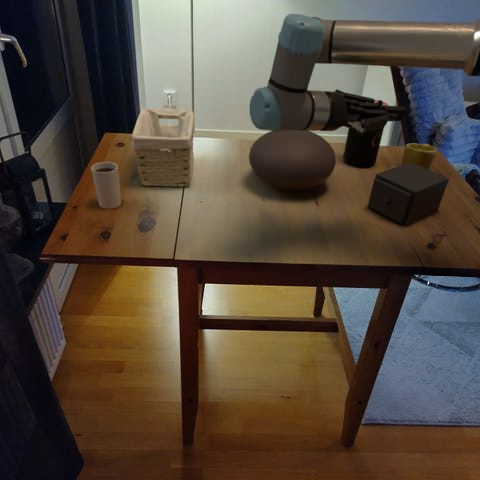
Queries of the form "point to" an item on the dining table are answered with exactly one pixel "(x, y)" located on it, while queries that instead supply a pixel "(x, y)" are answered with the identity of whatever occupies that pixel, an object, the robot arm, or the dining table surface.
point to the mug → (419, 155)
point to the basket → (164, 147)
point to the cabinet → (417, 189)
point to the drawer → (389, 200)
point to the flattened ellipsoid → (292, 159)
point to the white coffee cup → (107, 184)
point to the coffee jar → (362, 146)
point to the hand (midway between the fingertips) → (402, 113)
